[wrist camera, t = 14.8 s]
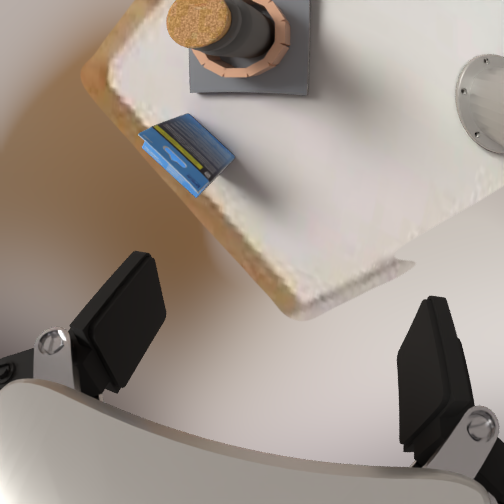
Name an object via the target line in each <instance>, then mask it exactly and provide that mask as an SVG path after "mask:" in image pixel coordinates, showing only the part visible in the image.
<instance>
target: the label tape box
mask: <svg viewBox="0 0 504 504" xmlns="http://www.w3.org/2000/svg"><path fill="white" fill-rule="evenodd" d="M138 135H139V136H140V137H141V138H142V139H143V140H144V141H145V142H144V144H143V147H142V148H143V149H144V150H145V151H146V152H147V153H148V154H149V155H150V156H151V157H153V158H154V159H155V160H156V161H157V162H158V163H159V164H160V165H161V166H162V167H163V168H164V169H166V170H167V171H168V172H169V173H170V174H171V175H172V176H173V177H174V178H175V179H176V180H177V181H178V182H180V183H181V184H182V185H183V186H184V187H185V188H186V189H187V190H188V191H189V192H190V193H191V194H192V195H194V196H195V197H196V198H197V197H198V196H199V195H200V194H201V193H202V192H203V191H204V190H205V189H206V188H207V187H208V186H209V185H210V184H211V183H212V182H213V181H214V180H215V179H216V177H217V176H218V175H219V174H220V173H221V172H222V171H223V170H224V169H225V168H226V167H227V166H228V165H229V164H230V163H231V162H232V161H233V160H234V158H235V156H234V155H233V154H232V153H231V152H230V151H229V150H227V149H226V148H225V147H224V146H223V145H222V144H221V143H220V142H219V141H218V140H217V139H216V138H215V137H214V136H213V135H211V134H210V133H209V132H208V131H207V130H206V129H205V128H204V127H203V126H202V125H200V124H199V123H198V122H197V121H196V120H195V119H194V118H193V117H192V116H190V115H189V114H188V113H187V114H184V115H181V116H179V117H176V118H173V119H170V120H168V121H165V122H162V123H159V124H157V125H154V126H152V127H150V128H149V129H147V130H145V131H143V132H141V133H139V134H138Z"/></svg>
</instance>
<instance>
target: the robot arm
mask: <svg viewBox="0 0 504 504" xmlns="http://www.w3.org/2000/svg"><path fill="white" fill-rule="evenodd" d="M484 60H485V63H484ZM461 89H462V90H463V93H461ZM456 106H457V112H458V115H459V118H460V121H461V123H462V125H463V127H464V129H465V130H466V131H467V133H468V134H469V136H470V137H471V138H472V139H473V140H474V141H475V142H476V143H478V144H479V145H480V146H482V147H484V148H485V149H487V150H489V151H492V152H495V153H504V57H502V56H499V55H492V54H487V55H481V56H477V57H475V58H473V59H472V60H470V61H469V62H468V63H467V64H466V65H465V66H464V68H463V69H462V71H461V73H460V75H459V78H458V81H457V85H456ZM475 132H476V135H475ZM165 318H166V309H165V305H164V300H163V296H162V291H161V287H160V282H159V278H158V273H157V268H156V263H155V260H154V258H152V257H151V255H150V254H149V253H145V252H139V251H135V252H133V253H132V254H131V255H130V256H129V257H128V258H127V259H126V260H125V261H124V263H122V265H121V266H120V267H119V268H118V269H117V270H116V271H115V272H114V274H113V275H112V276H111V277H110V278H109V279H108V280H107V281H106V283H105V284H104V285H103V286H102V287H101V288H100V290H99V291H98V292H97V293H96V294H95V295H94V296H93V298H92V299H91V300H90V301H89V302H88V304H87V305H86V306H85V307H84V308H83V310H82V311H81V312H80V313H79V314H78V316H77V317H76V318H75V319H74V321H73V322H72V323H71V324H70V327H71V328H70V330H69V331H67V330H66V329H64V328H62V327H51V328H49V329H46V330H45V331H43V332H42V333H41V334H40V335H39V336H38V337H37V339H36V341H35V345H34V348H32V349H29V350H26V351H23V352H20V353H17V354H14V355H10V356H7V357H4V358H2V359H0V504H504V443H503V442H502V441H501V440H500V439H499V438H498V434H499V423H498V419H497V417H496V416H495V414H494V413H493V412H492V411H491V410H490V409H488V408H487V407H484V406H475V405H474V399H473V394H472V389H471V383H470V378H469V374H468V369H467V364H466V360H465V356H464V352H463V348H462V344H461V342H460V339H459V338H457V334H456V331H455V327H454V324H453V320H452V317H451V313H450V310H449V307H448V303H447V300H446V298H444V297H437V296H429V297H428V299H427V300H426V299H425V300H423V301H422V303H421V305H420V307H419V309H418V312H417V314H416V316H415V318H414V320H413V323H412V325H411V327H410V329H409V331H408V333H407V335H406V337H405V339H404V341H403V343H402V345H401V347H400V349H399V351H398V355H397V367H398V368H397V369H398V387H399V422H400V423H399V426H400V427H399V428H400V429H399V432H400V433H399V434H400V435H399V439H400V443H401V444H404V452H414V459H415V461H414V462H413V464H411V466H410V467H384V466H366V465H352V464H341V463H340V464H339V463H330V462H321V461H313V460H306V459H299V458H293V457H287V456H280V455H275V454H270V453H264V452H260V451H255V450H250V449H246V448H241V447H237V446H232V445H228V444H225V443H221V442H217V441H213V440H209V439H205V438H202V437H199V436H195V435H192V434H189V433H186V432H182V431H179V430H176V429H173V428H170V427H167V426H164V425H161V424H158V423H155V422H153V421H150V420H147V419H144V418H141V417H139V416H136V415H133V414H131V413H129V412H126V411H124V410H121V409H119V408H116V407H114V406H111V405H109V404H107V403H104V400H103V395H102V392H103V391H104V389H107V390H110V391H112V392H114V393H118V392H119V390H120V388H123V387H125V386H126V384H127V383H128V381H129V379H130V378H131V376H132V374H133V372H134V371H135V369H136V367H137V366H138V364H139V362H140V361H141V359H142V357H143V356H144V354H145V352H146V350H147V349H148V347H149V345H150V344H151V342H152V340H153V339H154V337H155V336H156V334H157V332H158V331H159V329H160V327H161V325H162V324H163V322H164V320H165Z"/></svg>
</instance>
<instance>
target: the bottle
mask: <svg viewBox="0 0 504 504" xmlns="http://www.w3.org/2000/svg"><path fill="white" fill-rule="evenodd" d="M167 30H168V32H169V35H170V36H171V38H172V39H173V40H174V41H175V42H176V43H178V44H179V45H181V46H184V47H187V48H191V49H194V50H198V51H200V52H202V53H205V54H208V55H212V56H223V57H240V58H253V57H258V56H260V55H263V54H264V53H266V52H267V51H268V50H269V49H270V48H271V47H272V45H273V43H274V40H275V28H274V26H273V24H272V22H271V21H270V20H269V19H268V18H267V17H266V16H265V15H263V14H262V13H260V12H259V11H258V10H256V9H255V8H253V7H252V6H250V5H249V4H247V3H245V2H244V1H242V0H176V1H175V2H174V3H173V5H172V6H171V8H170V10H169V12H168V15H167Z"/></svg>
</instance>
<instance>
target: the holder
mask: <svg viewBox="0 0 504 504" xmlns="http://www.w3.org/2000/svg"><path fill="white" fill-rule="evenodd" d="M242 1H244V2H245V3H247V4H249V5H250V6H252V7H253V8H255V9H256V10H258V11H259V12H260V13H262V14H263V15H265V16H266V17H267V18H268V19H269V20H270V21H271V22H272V24H273V26H274V28H275V40H274V43H273V45H272V47H271V48H270V49H269V50H268V51H267V52H266V53H264V54H263V55H260V56H258V57H253V58H240V57H223V56H212V55H208V54H205V53H202V52H200V51H198V50H194V49H191V48H189V78H190V93H198V92H257V93H279V94H294V95H306V96H307V95H308V76H309V47H310V0H242Z"/></svg>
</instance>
